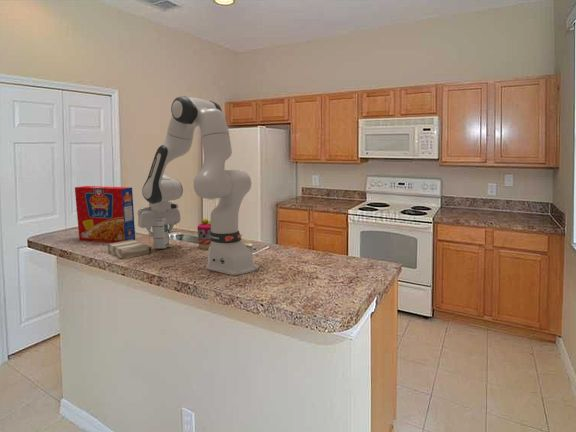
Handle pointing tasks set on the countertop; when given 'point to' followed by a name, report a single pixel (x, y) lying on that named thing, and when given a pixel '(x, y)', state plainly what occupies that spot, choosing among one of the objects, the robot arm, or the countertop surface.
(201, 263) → the countertop surface
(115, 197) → the pasta box
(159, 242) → the syrup box
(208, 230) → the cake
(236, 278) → the countertop surface
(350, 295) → the countertop surface
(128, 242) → the dock
